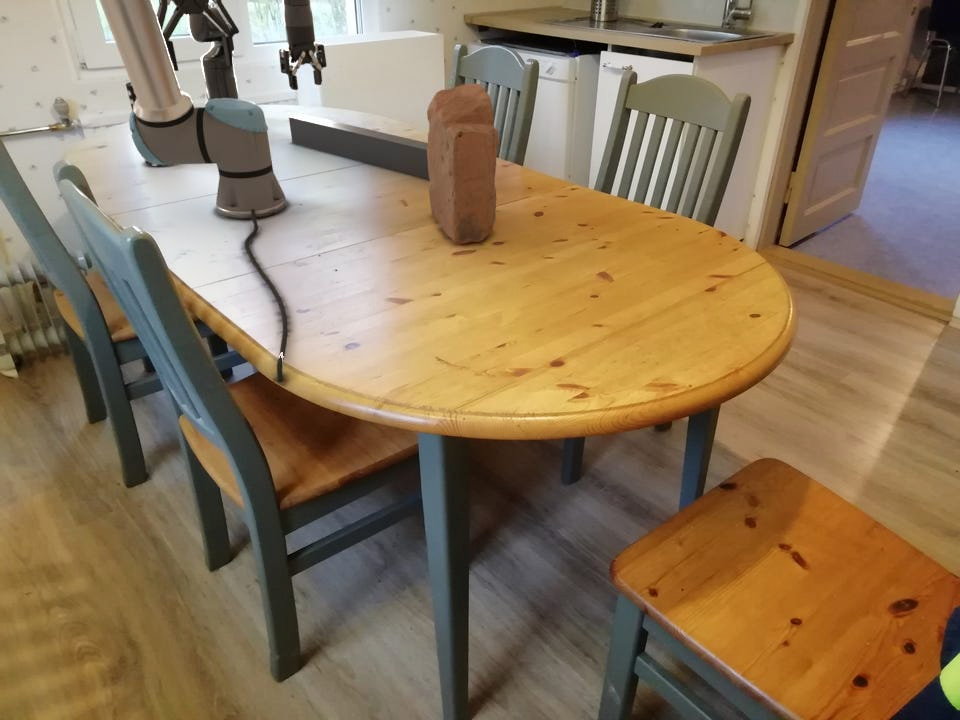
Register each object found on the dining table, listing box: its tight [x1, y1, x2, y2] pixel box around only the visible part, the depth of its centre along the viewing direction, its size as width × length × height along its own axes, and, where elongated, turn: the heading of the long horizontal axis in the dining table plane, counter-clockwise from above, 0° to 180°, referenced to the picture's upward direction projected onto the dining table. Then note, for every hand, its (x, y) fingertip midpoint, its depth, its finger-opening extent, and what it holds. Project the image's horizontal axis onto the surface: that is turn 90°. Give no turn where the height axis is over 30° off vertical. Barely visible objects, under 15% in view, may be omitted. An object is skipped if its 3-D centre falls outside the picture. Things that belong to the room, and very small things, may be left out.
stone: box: [426, 83, 500, 245], centre depth 142 cm, size 22×11×28 cm, turn 18°
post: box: [288, 113, 430, 181], centre depth 186 cm, size 68×5×8 cm, turn 53°
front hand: (203, 67), depth 172 cm, fingers open, 13 cm apart
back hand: (306, 87), depth 193 cm, fingers open, 8 cm apart
